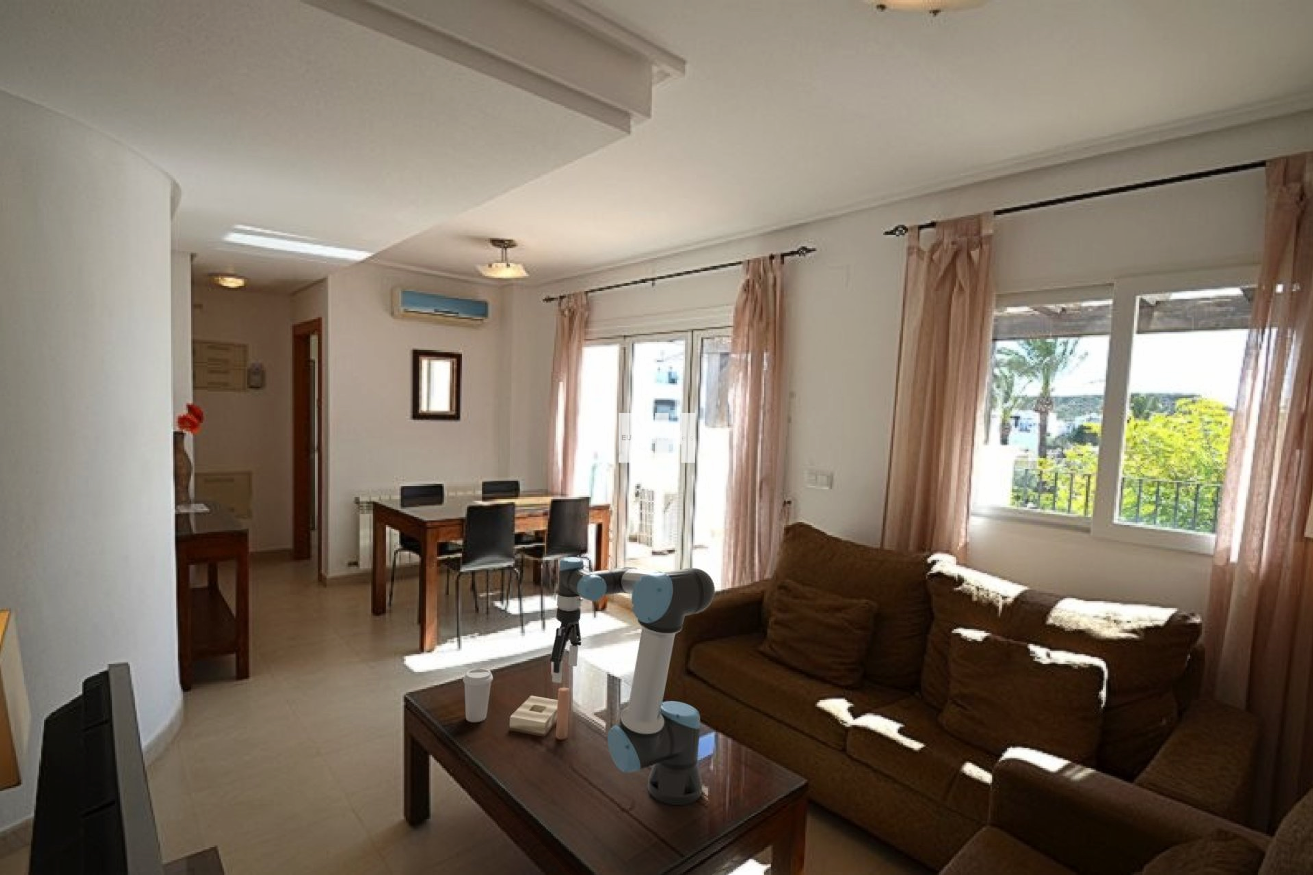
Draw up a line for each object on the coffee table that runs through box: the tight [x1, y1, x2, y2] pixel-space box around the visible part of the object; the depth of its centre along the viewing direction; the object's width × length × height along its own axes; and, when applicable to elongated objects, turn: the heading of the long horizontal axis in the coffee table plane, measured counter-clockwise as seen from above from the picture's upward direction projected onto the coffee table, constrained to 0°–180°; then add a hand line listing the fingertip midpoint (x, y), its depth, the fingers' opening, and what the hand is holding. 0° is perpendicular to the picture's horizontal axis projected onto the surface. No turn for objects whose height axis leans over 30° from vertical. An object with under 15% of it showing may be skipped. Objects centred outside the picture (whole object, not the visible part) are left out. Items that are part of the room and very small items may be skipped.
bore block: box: [509, 695, 558, 738], centre depth 207 cm, size 16×12×4 cm
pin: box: [555, 687, 571, 740], centre depth 199 cm, size 4×4×15 cm
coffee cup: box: [462, 667, 494, 723], centre depth 208 cm, size 10×10×15 cm
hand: (564, 673), depth 198 cm, fingers open, 13 cm apart
